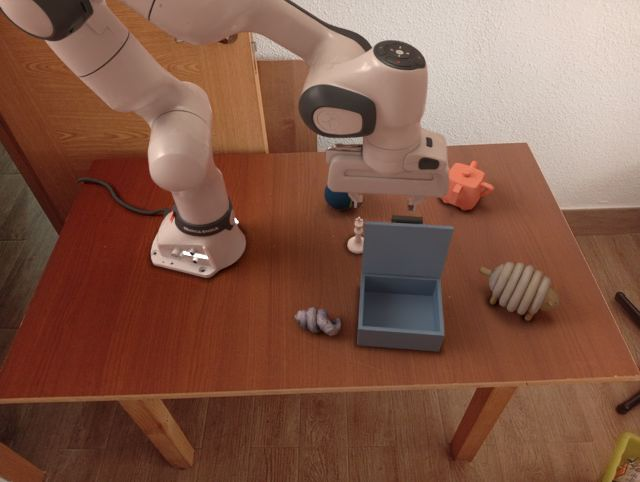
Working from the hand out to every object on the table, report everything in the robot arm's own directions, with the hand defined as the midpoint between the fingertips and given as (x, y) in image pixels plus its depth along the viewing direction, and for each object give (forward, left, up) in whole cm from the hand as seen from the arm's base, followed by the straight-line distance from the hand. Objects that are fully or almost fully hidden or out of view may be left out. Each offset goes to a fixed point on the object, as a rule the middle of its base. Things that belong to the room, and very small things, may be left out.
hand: (384, 206), depth 86 cm
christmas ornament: (-10, +26, -27) cm, 39 cm away
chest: (+5, -7, -27) cm, 29 cm away
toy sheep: (+29, 0, -28) cm, 40 cm away
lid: (+5, 0, -13) cm, 14 cm away
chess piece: (-5, +13, -27) cm, 31 cm away
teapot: (+21, +31, -27) cm, 46 cm away
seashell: (-12, -10, -28) cm, 32 cm away
